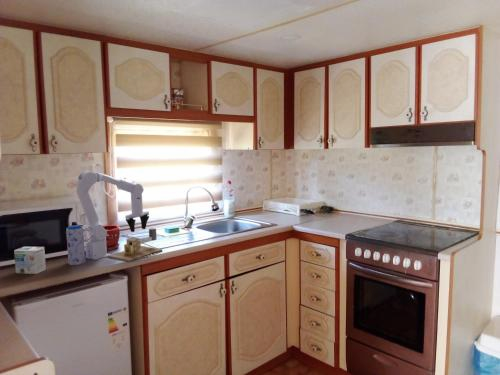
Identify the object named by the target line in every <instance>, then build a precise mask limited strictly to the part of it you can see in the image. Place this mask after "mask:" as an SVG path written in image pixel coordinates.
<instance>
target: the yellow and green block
mask: <svg viewBox="0 0 500 375" xmlns="http://www.w3.org/2000/svg"><path fill="white" fill-rule="evenodd" d="M157 239H158V237H157V229H156V228H154V227H153V228H148V236H147V237H143V238H140V240H141V245H142V244H145V243H149V242H154V241H156V240H157Z"/></svg>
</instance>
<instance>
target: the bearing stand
mask: <svg viewBox="0 0 500 375" xmlns="http://www.w3.org/2000/svg"><path fill="white" fill-rule="evenodd" d="M140 239H141V238H139V237H134V236H133V237H129V238H126V240H125V241H126V244H130V245H133V250H134V255H126V254H125V251H124V250H122V251H118V252H116V253H112V254H111V255H108V256H107V258H109V259H113V260H117V261H123V262H126V263H131V262H134V261H137V260H140V259H143V258H146V257H149V256H152V255H151V254H153V255H155V254H154V253H156V254H158V253H157V252H159V253H161V252H160V251H162V252H163V249H161V248H158V247H157V248H156V247H150V246H145V245H142V244H141V240H140ZM128 249H129V248H128ZM148 255H149V256H148ZM145 256H146V257H145Z"/></svg>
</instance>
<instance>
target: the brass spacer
mask: <svg viewBox="0 0 500 375" xmlns="http://www.w3.org/2000/svg"><path fill="white" fill-rule="evenodd" d="M123 246H124V247H123V248H124V250H123V251H125V254H126V255H134V250H133V245H130V244H127V243H124V244H123ZM128 248H129V249H128Z"/></svg>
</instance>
